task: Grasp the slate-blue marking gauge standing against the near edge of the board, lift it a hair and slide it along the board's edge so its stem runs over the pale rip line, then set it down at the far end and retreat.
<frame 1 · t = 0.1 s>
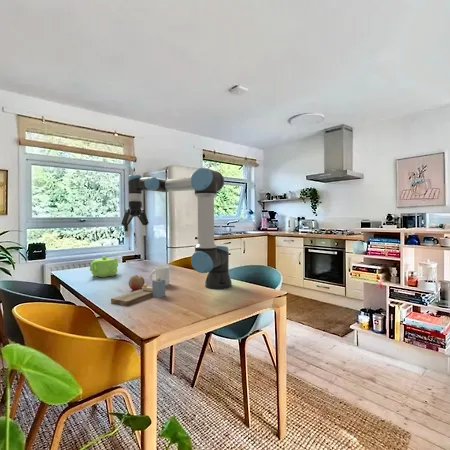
hand: (135, 236, 175), 28 cm above the table, fingers open, 13 cm apart
fruit: (136, 290, 158), on the table
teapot: (106, 276, 195), on the table
mug: (159, 285, 169), on the table
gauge: (159, 296, 147), on the table
board: (136, 298, 143), on the table
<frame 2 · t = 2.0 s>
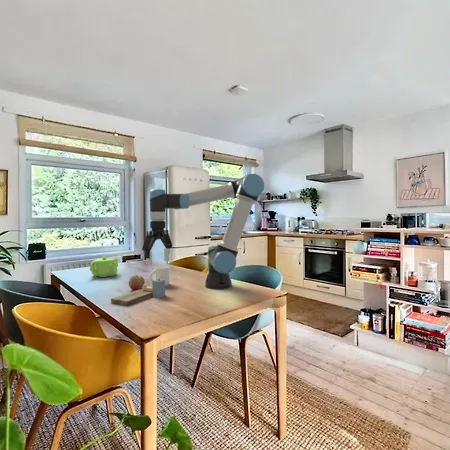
hand: (158, 262, 146), 17 cm above the table, fingers open, 13 cm apart
nothing on the table moved.
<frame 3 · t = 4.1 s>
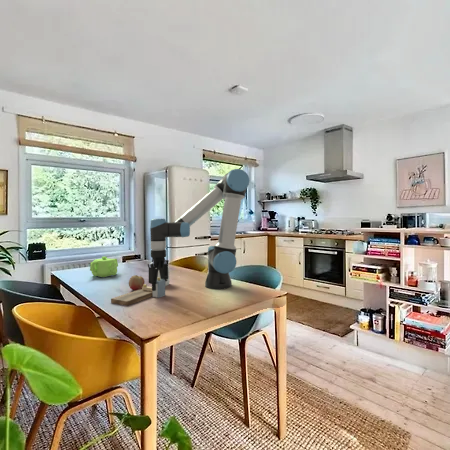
hand: (158, 295, 147), 0 cm above the table, fingers closed on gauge, 5 cm apart
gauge: (158, 295, 147), on the table, touching gripper
everything else where it was.
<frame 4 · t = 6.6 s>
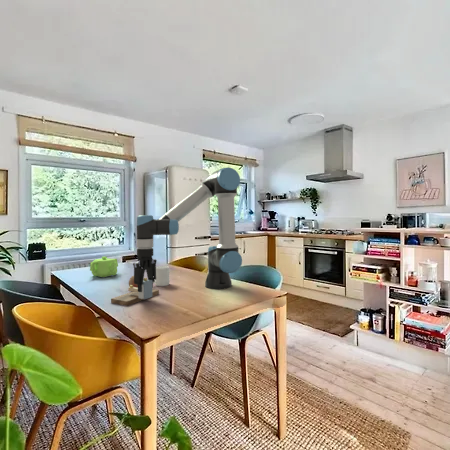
hand: (145, 296, 138), 2 cm above the table, fingers closed on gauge, 5 cm apart
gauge: (145, 297, 138), point 2 cm above the table, touching gripper
everything else where it was.
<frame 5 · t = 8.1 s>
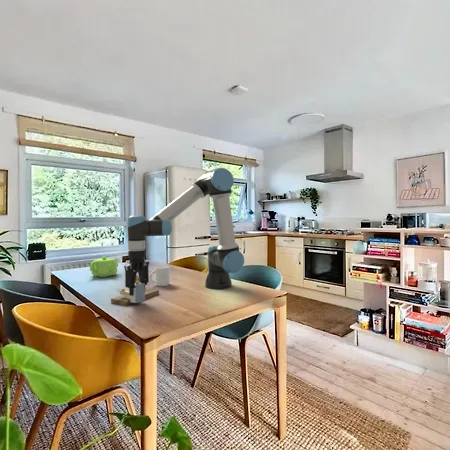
hand: (137, 300, 133), 2 cm above the table, fingers closed on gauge, 5 cm apart
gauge: (137, 301, 133), point 1 cm above the table, touching gripper
everything else where it was.
when the fingers open (1 cm above the table, at t = 9.1 s): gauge stays where it is, on the table.
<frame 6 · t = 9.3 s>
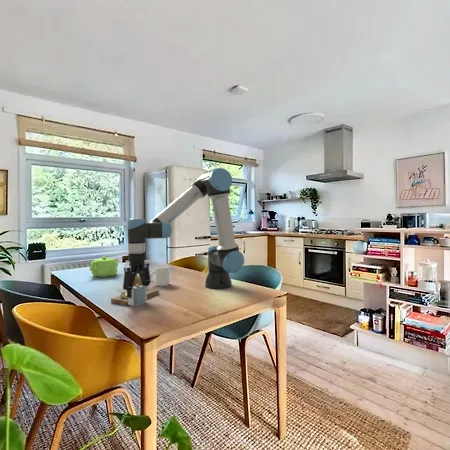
hand: (137, 302, 133), 1 cm above the table, fingers open, 8 cm apart
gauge: (137, 304, 133), on the table
everything else where it was.
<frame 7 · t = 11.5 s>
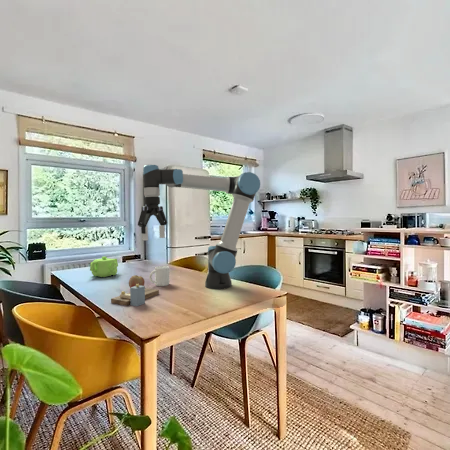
hand: (154, 239, 146), 29 cm above the table, fingers open, 13 cm apart
nothing on the table moved.
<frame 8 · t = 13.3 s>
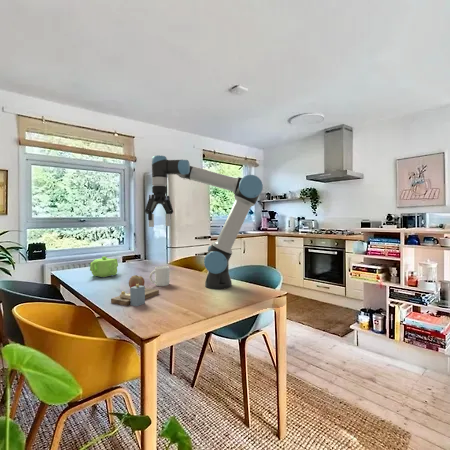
hand: (160, 226, 154), 35 cm above the table, fingers open, 13 cm apart
nothing on the table moved.
at the end: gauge inside the target area (0.0 cm from its centre), on the table; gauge tilted 0°; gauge moved 15.0 cm from its start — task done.
